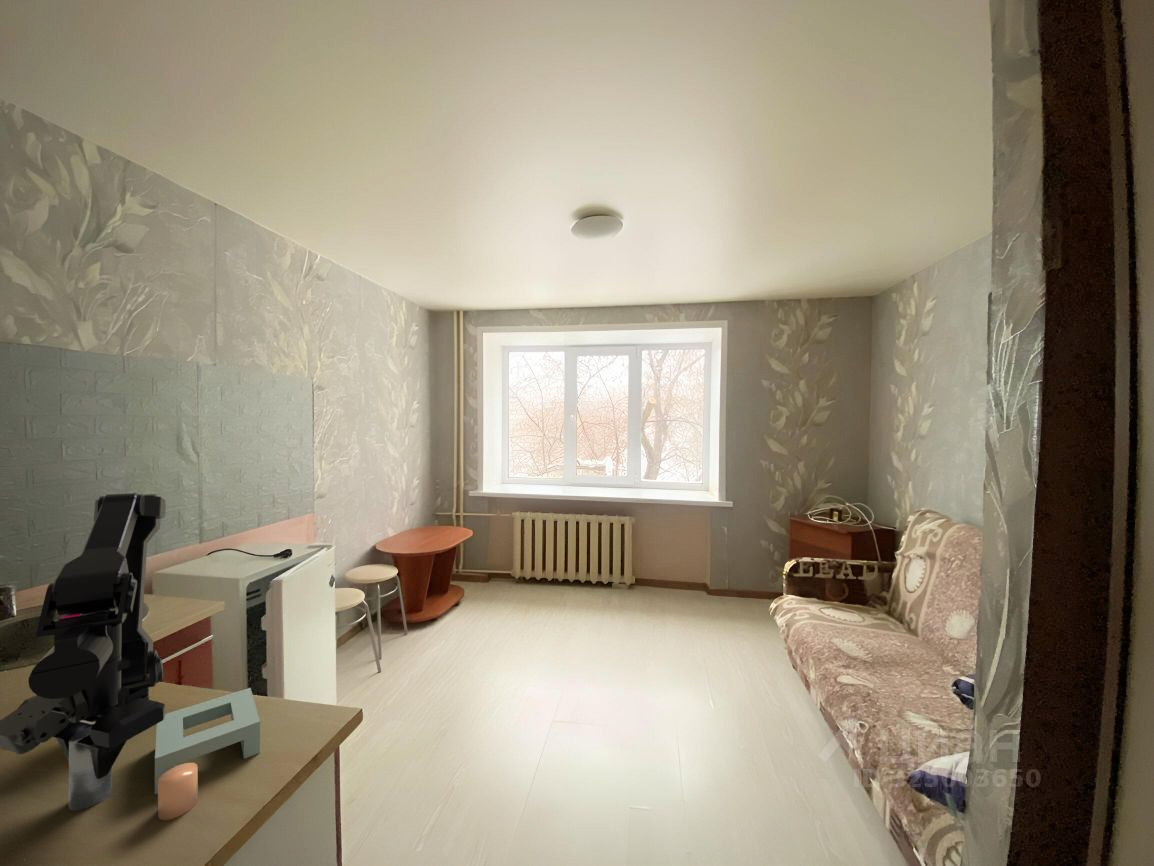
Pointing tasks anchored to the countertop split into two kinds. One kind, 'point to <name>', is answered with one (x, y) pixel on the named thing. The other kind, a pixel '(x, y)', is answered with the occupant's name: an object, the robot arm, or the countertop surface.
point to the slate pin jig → (182, 749)
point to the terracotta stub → (177, 791)
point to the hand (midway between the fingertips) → (91, 773)
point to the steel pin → (85, 776)
